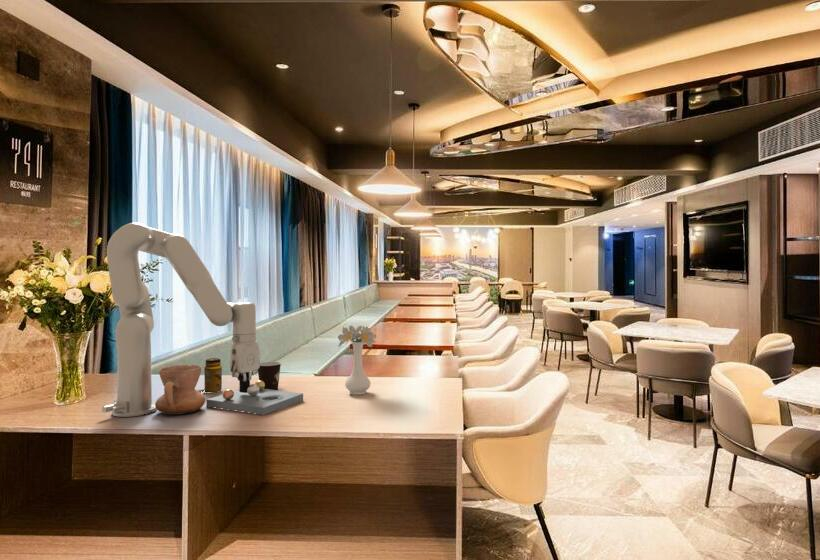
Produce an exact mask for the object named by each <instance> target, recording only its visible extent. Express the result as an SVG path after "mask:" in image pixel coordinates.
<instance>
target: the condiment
mask: <svg viewBox="0 0 820 560" xmlns="http://www.w3.org/2000/svg"><path fill="white" fill-rule="evenodd" d="M221 364H222V363H221V359H220V358H219V357H218V358H216V357H213V358H212V357H211V358H207V359H205V364H204V365H205V366H204V371H203V372H204V389H196V390H197V391H198V392H200V393H201V391H202V392H203V391H204V390H205V392H217V391H221V390H223V389H222V384H223V380H222V379H223V378H222V375H223V374H222V372H223V370H222V369H223V368H222V365H221ZM217 393H218V392H217ZM204 395H209V393H207V394H206V393H205V394H204Z"/></svg>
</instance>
